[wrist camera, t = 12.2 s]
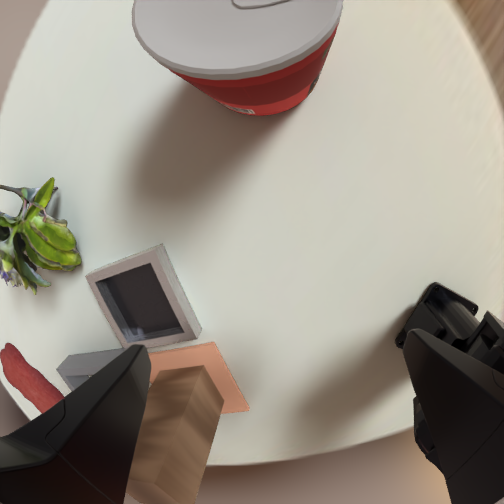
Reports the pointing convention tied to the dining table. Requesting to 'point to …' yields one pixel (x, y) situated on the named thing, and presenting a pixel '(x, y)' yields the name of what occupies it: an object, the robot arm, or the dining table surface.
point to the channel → (85, 366)
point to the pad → (212, 363)
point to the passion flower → (34, 240)
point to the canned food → (241, 47)
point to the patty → (28, 379)
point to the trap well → (144, 300)
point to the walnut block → (175, 437)
